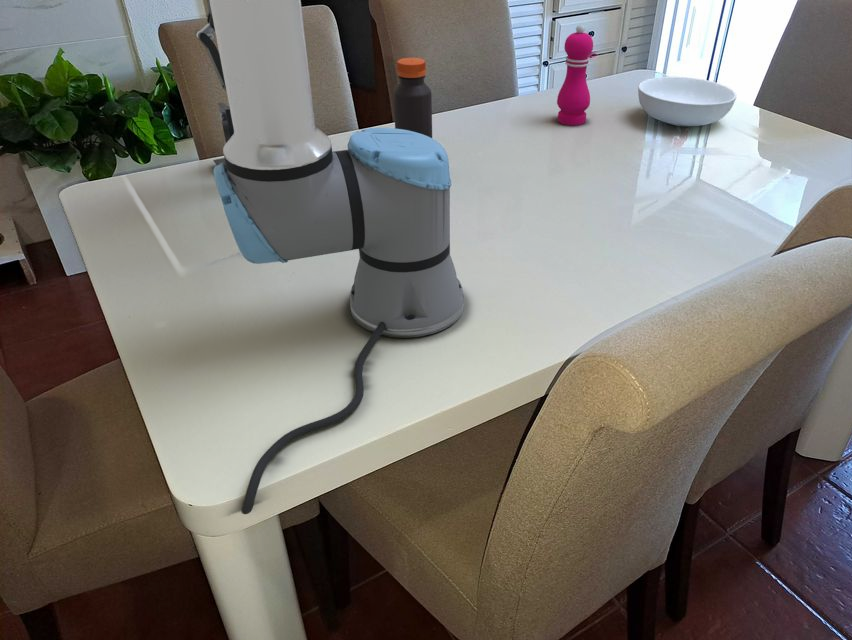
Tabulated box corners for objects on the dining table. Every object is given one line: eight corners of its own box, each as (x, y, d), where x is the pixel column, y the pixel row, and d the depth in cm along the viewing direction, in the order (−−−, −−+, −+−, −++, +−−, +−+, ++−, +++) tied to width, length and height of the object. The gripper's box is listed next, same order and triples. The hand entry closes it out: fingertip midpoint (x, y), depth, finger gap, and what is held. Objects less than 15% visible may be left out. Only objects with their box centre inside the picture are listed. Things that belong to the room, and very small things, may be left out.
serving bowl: (725, 141, 147) (733, 108, 143) (626, 128, 153) (630, 96, 149) (732, 112, 163) (740, 81, 159) (642, 101, 169) (646, 71, 165)
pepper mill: (548, 120, 157) (556, 24, 145) (569, 113, 161) (578, 19, 149) (573, 128, 153) (583, 30, 141) (594, 121, 157) (605, 24, 145)
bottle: (394, 166, 135) (388, 57, 123) (428, 163, 136) (426, 55, 124) (400, 180, 130) (395, 67, 118) (436, 177, 131) (434, 65, 119)
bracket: (283, 179, 130) (272, 109, 122) (235, 189, 126) (220, 118, 118) (260, 157, 138) (249, 91, 130) (214, 166, 134) (200, 98, 127)
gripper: (262, -30, 111) (284, 120, 124) (177, -23, 105) (210, 133, 119) (279, -23, 106) (300, 133, 119) (191, -16, 100) (224, 147, 114)
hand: (255, 133), depth 119 cm, fingers closed
